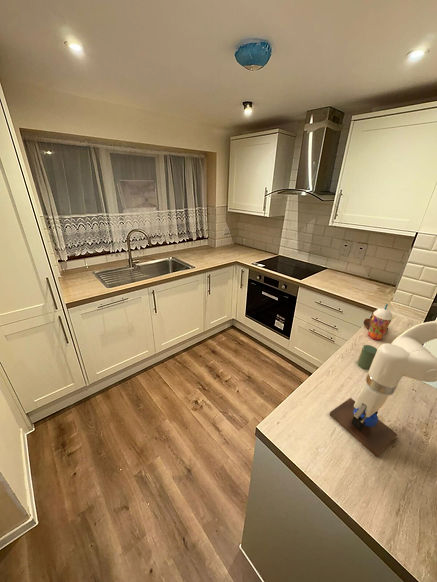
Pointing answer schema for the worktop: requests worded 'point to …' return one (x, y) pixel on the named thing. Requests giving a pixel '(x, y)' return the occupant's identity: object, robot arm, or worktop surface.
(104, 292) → the worktop surface
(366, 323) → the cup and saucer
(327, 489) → the worktop surface
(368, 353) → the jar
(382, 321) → the smoothie
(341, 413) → the board
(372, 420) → the lid
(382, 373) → the robot arm
